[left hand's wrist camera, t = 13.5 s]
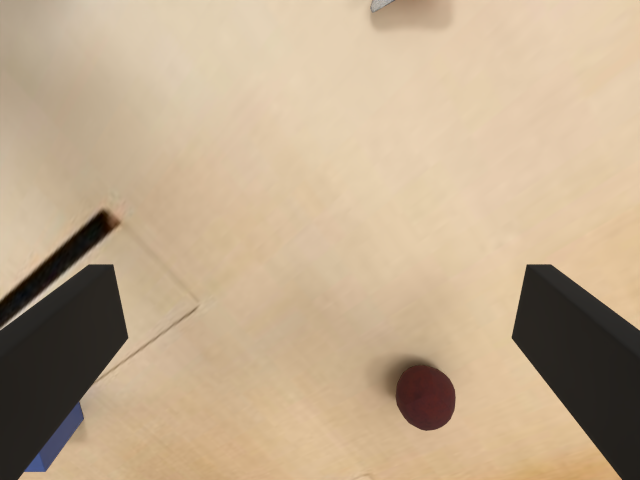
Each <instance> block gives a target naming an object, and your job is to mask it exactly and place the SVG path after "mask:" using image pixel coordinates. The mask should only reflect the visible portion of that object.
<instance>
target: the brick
mask: <svg viewBox="0 0 640 480" xmlns="http://www.w3.org/2000/svg"><path fill="white" fill-rule="evenodd" d="M83 419H84V418H83V414H82V411H81V407H80V403H79V402H78V403H77V404H76V406H75V407H74V408H73V410H72V411H71V412H70V413H69V415H68V416H67V417H66V419H65V420H64V421H63V422H62V424H61V425H60V426H59V428H58V429H57V430H56V431H55V433H54V434H53V435H52V436H51V438H50V439H49V440H48V442H47V443H46V444H45V445H44V447H43V448H42V449H41V451H40V452H39V453H38V454H37V456H36V457H35V458H34V460H33V461H32V462H31V463H30V465H29V466H28V467H27V469H26V470H25V471H24V472H46V470H47V469H48V468H49V466H50V465H51V464H52V462H53V461H54V459H55V458H56V457H57V455H58V454H59V452H60V451H61V450H62V448H63V447H64V446H65V444H66V443H67V441H68V440H69V439H70V437H71V436H72V434H73V433H74V432H75V430H76V429H77V428H78V426H79V425H80V423H81V422H82V421H83Z"/></svg>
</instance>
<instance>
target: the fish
mask: <svg viewBox="0 0 640 480" xmlns="http://www.w3.org/2000/svg"><path fill="white" fill-rule="evenodd" d="M393 1H394V0H373V1H372V4H371V8H370V9H371V11H372V13H373V12H375V11H377V10H379V9H380V8H382V7H384V6H386V5H387V4H389V3H391V2H393Z"/></svg>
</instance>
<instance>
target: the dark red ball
mask: <svg viewBox="0 0 640 480" xmlns="http://www.w3.org/2000/svg"><path fill="white" fill-rule="evenodd" d="M396 401H397V406H398V408H399V410H400V412H401V413H402V415H403V416H404V418H405V419H406V420H407V421H408V422H409V423H410V424H412V425H413V426H415V427H417V428H419V429H421V430H425V431H428V430H435V429H438V428H440V427H442V426H444V425H445V424H446V423H447V422H448V421H449V420H450V419H451V416H452V414H453V412H454V409H455V389H454V387H453V384H452V383H451V381H450V379H449V378H448V377H447V376H446V375H445V374H444V373H442V372H441V371H439V370H438V369H435V368H432V367H428V366H425V365H419V366H414V367H411V368H408V369H407V370H406V371H405V372H404V373H403V374H402V376H401V378H400V379H399V381H398V384H397V390H396Z"/></svg>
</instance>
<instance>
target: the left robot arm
mask: <svg viewBox="0 0 640 480" xmlns="http://www.w3.org/2000/svg"><path fill="white" fill-rule="evenodd" d="M127 339H128V334H127V329H126V324H125V319H124V315H123V310H122V305H121V300H120V295H119V290H118V286H117V281H116V276H115V271H114V266H113V265H88V266H86V267H85V268H84V269H82V270H81V271H80V272H78V273H77V274H76V275H74V276H73V277H72V278H70V279H69V280H68V281H66V282H65V283H64V284H62V285H61V286H60V287H58V288H57V289H56V290H54V291H53V292H51V293H50V294H49V295H47V296H46V297H45V298H43V299H42V300H41V301H39V302H38V303H37V304H35V305H34V306H33V307H31V308H30V309H29V310H27V311H26V312H25V313H23V314H22V315H21V316H19V317H18V318H17V319H15V320H14V321H13V322H11V323H10V324H9V325H7V326H6V327H5V328H3V329H2V330H0V480H18V479H19V477H20V476H21V475H22V474H23V472H24V471H25V470H26V469H27V467H28V466H29V465H30V463H31V462H32V461H33V460H34V458H35V457H36V456H37V454H38V453H39V452H40V451H41V449H42V448H43V447H44V445H45V444H46V443H47V442H48V440H49V439H50V438H51V436H52V435H53V434H54V433H55V431H56V430H57V429H58V428H59V426H60V425H61V424H62V422H63V421H64V420H65V419H66V417H67V416H68V415H69V413H70V412H71V411H72V410H73V408H74V407H75V406H76V404H77V403H78V402H79V401H80V399H81V398H82V397H83V395H84V394H85V393H86V392H87V390H88V389H89V388H90V387H91V385H92V384H93V383H94V381H95V380H96V379H97V378H98V376H99V375H100V374H101V372H102V371H103V370H104V369H105V367H106V366H107V365H108V363H109V362H110V361H111V360H112V358H113V357H114V356H115V354H116V353H117V352H118V351H119V349H120V348H121V347H122V345H123V344H124V343H125V342H126V340H127ZM512 339H513V340H514V342H515V343H516V344H517V345H518V347H519V348H520V349H521V351H522V352H523V353H524V354H525V356H526V357H527V358H528V360H529V361H530V362H531V363H532V365H533V366H534V367H535V369H536V370H537V371H538V372H539V374H540V375H541V376H542V378H543V379H544V380H545V381H546V383H547V384H548V385H549V387H550V388H551V389H552V390H553V392H554V393H555V394H556V395H557V397H558V398H559V399H560V401H561V402H562V403H563V404H564V406H565V407H566V408H567V410H568V411H569V412H570V413H571V415H572V416H573V417H574V419H575V420H576V421H577V422H578V424H579V425H580V426H581V428H582V429H583V430H584V431H585V433H586V434H587V435H588V436H589V438H590V439H591V440H592V442H593V443H594V444H595V445H596V447H597V448H598V449H599V451H600V452H601V453H602V454H603V456H604V457H605V458H606V460H607V461H608V462H609V463H610V465H611V466H612V467H613V469H614V470H615V471H616V472H617V474H618V475H619V476H620V477H621V479H622V480H640V330H638V329H637V328H635V327H634V326H633V325H631V324H630V323H629V322H627V321H626V320H625V319H623V318H622V317H621V316H619V315H618V314H617V313H615V312H614V311H613V310H611V309H610V308H609V307H607V306H606V305H605V304H603V303H602V302H601V301H599V300H598V299H597V298H595V297H594V296H593V295H591V294H590V293H589V292H587V291H586V290H584V289H583V288H582V287H580V286H579V285H578V284H576V283H575V282H574V281H572V280H571V279H570V278H568V277H567V276H566V275H564V274H563V273H562V272H560V271H559V270H558V269H556V268H555V267H554V266H552V265H527V266H526V271H525V276H524V281H523V285H522V290H521V295H520V300H519V305H518V310H517V315H516V319H515V324H514V329H513V334H512Z"/></svg>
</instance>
